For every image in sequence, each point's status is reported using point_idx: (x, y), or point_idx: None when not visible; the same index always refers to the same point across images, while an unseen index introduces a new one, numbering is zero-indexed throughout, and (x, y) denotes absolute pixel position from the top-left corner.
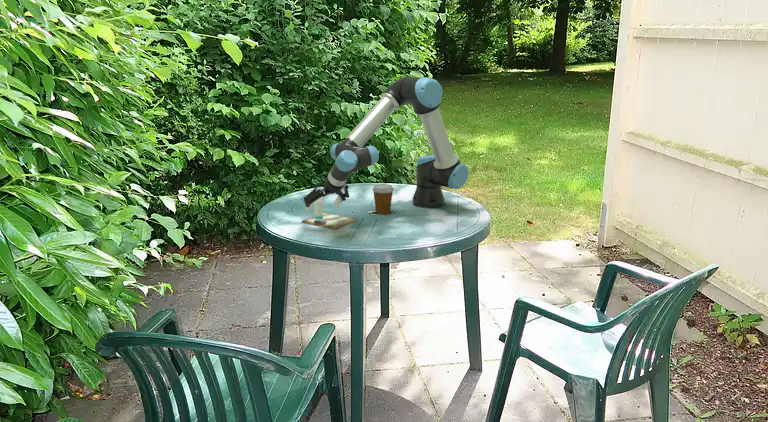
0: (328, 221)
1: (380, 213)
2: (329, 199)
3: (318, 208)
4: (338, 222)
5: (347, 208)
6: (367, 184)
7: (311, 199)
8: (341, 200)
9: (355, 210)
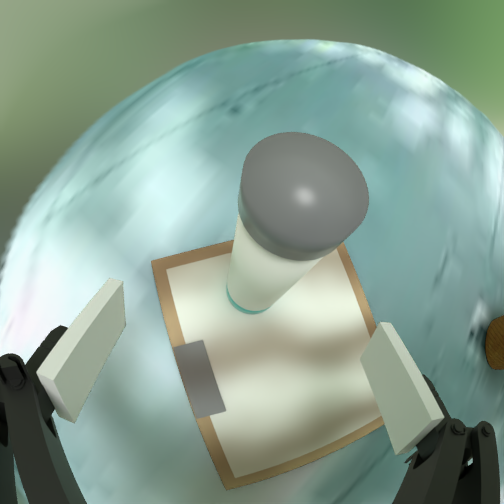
0: (259, 384)
1: (488, 361)
2: (405, 112)
3: (245, 294)
4: (294, 433)
5: (435, 219)
6: (485, 118)
7: (7, 475)
8: (401, 445)
9: (450, 262)
